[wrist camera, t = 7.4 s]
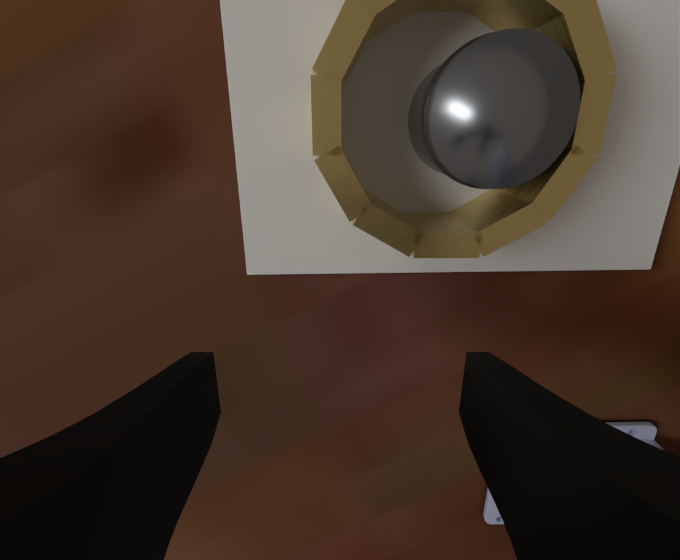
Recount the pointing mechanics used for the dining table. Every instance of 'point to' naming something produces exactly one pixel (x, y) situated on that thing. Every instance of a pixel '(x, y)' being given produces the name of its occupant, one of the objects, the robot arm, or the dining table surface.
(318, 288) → the dining table surface
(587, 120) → the brass ring
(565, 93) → the piston stand
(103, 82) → the dining table surface
